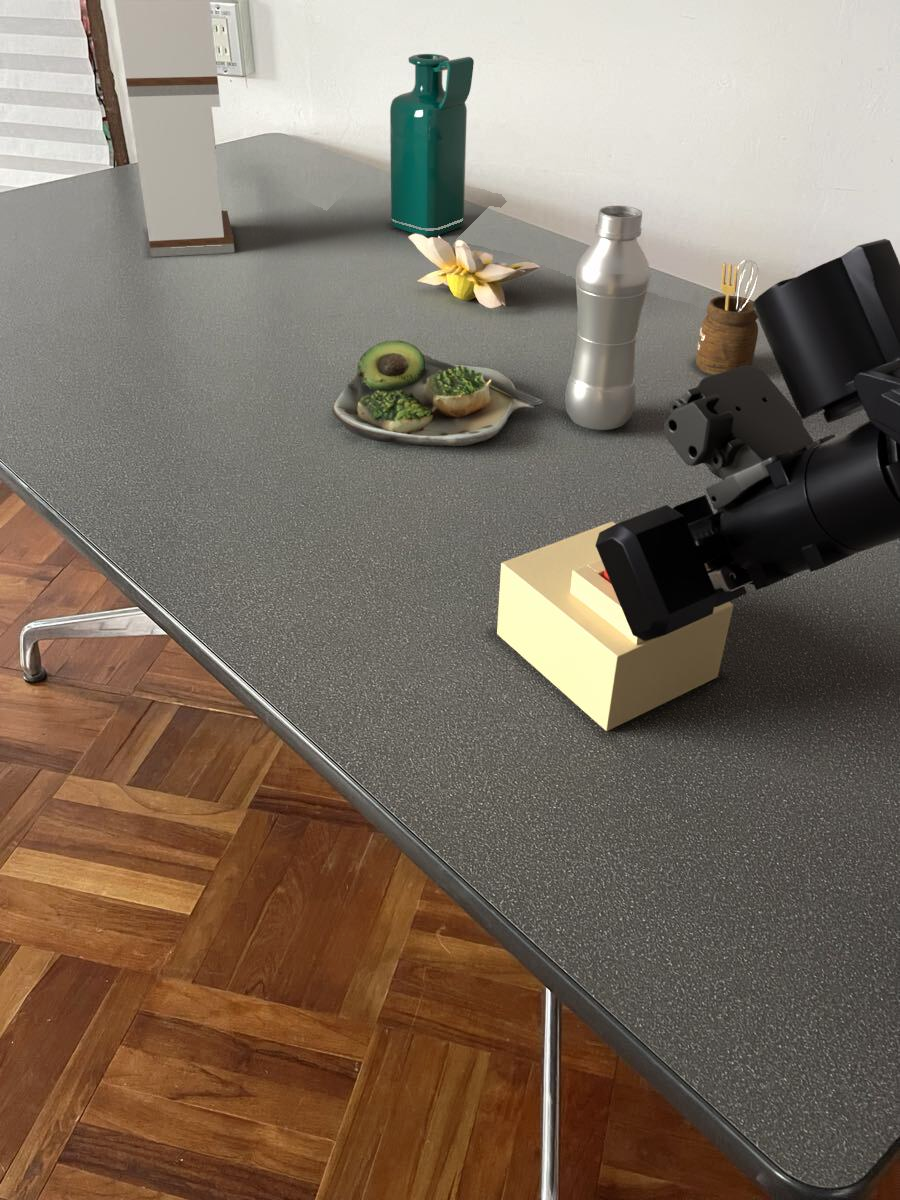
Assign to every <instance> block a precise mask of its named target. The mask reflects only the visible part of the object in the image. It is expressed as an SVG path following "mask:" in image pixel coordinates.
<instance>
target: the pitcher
mask: <svg viewBox="0 0 900 1200" xmlns="http://www.w3.org/2000/svg"><path fill="white" fill-rule="evenodd" d="M407 61H408V63H409V64H412V65H414V86H413V88H412V90H411V91H408V92H405V93H402V94H399V95H397V96H395V97H394V98H393V99H392V101H391V103H390V106H389V136H390V137H389V144H390V221H391V223H390V224H391V225H392V227H393V228H395V229H397V230H400V231H404V232H408V233H411V234H420V235H423V236H425V237H426V238H432V237H438V236H441V235H444V234H446V233H449V232H452V231H455V230H457V229H461V228H462V226H463V225H464V223H465V219H464V220H463V221H462V222H460V223H457V224H454V225H451V226H449V227H446V228H443V229H440V230H434V231H425V230H419V229H416V228H413V227H409V226H406V225H402V224H399V223H395V222H393V221H392V220H391V218H392V219H394V220H396V221H399V222H403V223H407V224H411V225H414V226H417V227H421V228H438V227H441V226H444V225H447V224H449V223H452V222H454V221H457V220H460V219H462V218H463V217H464V218H465V191H466V160H467V159H466V158H467V157H466V156H467V123H468V121H467V120H468V109H467V104H466V101H467V100H468V99H469V95H470V93H471V89H472V81H473V74H474V73H473V72H474V65H475V61H474V58H472V57H471V56H463V57H459V58H454V59H449V57H447V56H445V55H442V54H437V53H418V54H413V55H411V56H409V57H408V59H407ZM444 71H447V72H446V84H445V88H444V85H443V73H444ZM444 89H445V90H444Z"/></svg>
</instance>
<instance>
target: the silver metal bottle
mask: <svg viewBox="0 0 900 1200" xmlns="http://www.w3.org/2000/svg"><path fill="white" fill-rule="evenodd" d="M597 215H598V216H597V223H596V224H595V234H596V235H597V238H596V239H595V240H594V242H592V243H591V245H589V246H588V248H587V249H586V250H585V251H584V253H583V255H581V257H580V259H579V260H578V263H577V266H576V268H575V289H576V305H577V306H576V307H577V321H576V322H577V325H576V327H577V330H576V342H575V348H574V355H573V361H572V366H571V372H570V374H569V377H568V379H567V380H568V381H567V383H566V389H565V393H564V402H565V411H566V413H567V415H568V417H569V418H570V420H571V421H572V422H573V423H574V424H575V425H578V426H579V427H581V428H586V429H591V430H596V431H607V430H614V429H618V428H620V427H622V426H624V425H625V424H626V423H627V422H628V420H629V419H630V418H631V417H632V414H633V412H634V408H635V405H636V402H637V401H636V398H637V396H636V392H637V391H636V382H635V381H636V380H635V364H636V363H635V359H636V358H635V357H636V343H637V337H638V332H639V325H640V320H641V314H642V311H643V307H644V304H645V300H646V296H647V293H648V288H649V286H650V281H651V270H650V264H649V262H648V259H647V257H646V255H645V252H644V251H643V249H642V248H641V245H640V243H639V242H638V238H639V237H641V235H642V220H643V211H642V210H641V209H639V208H637V207H634V206H633V207H632V206H627V205H607V206H603V207H601V208H599V211H598V214H597Z"/></svg>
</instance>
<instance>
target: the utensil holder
mask: <svg viewBox="0 0 900 1200" xmlns="http://www.w3.org/2000/svg"><path fill="white" fill-rule="evenodd" d="M750 262H751V265H754V264H755V265H756V269H757V270H756V271H757V272H756V276H755V282H754V285H753V287H752V291H751V292H750V294H749V296H748V293H749V290H750V287H751V283H752V279H753V274H754V271H753V267H751V268H750V274H749V278H748V281H747V285H746V289H745V291H744V295H743V296H739V295H735V294H736V292H737V293H738V294H740V292H741V290H740V289H741V287H742V285H741V284H742V282H743V279H744V275H745V273H746V272H745V271H746V268H747V267H748V264H749V263H750ZM743 264H744V265H743ZM742 265H743V266H742ZM741 266H742V271H741V273H740V278H739V283H737V282H738V272H739V270H740V267H741ZM733 269H734V272H733V271H732V270H733ZM726 272H727V280H726ZM732 272H733V278H732ZM758 277H759V267H758V264H757V262H755V261H753V260H750V259H747V260H743V261H741V263H740V264H738V265H735V266H734V268H733V265H732V264H731V263H730V264H728V270H727V263H726V262H723V264H722V271H721V283H720V292H722V293H723V294H724V295H720V296H715V297H713V298H711V299H710V300H709V302H708V305H707V307H706V316H705V317H704V318H703V320H702V322H701V326H700V329H699V333H698V334H699V335H698V342H697V347H696V354H695V364H696V367H697V368H698V369H699V370H700V371H701V372H703V373H705V374H707V375H709V376H712V375H716V374H719V373H722V372H725V371H729V370H732V369H735V368H738V367H742V366H753V365H752V364H753V361H754V356H755V352H756V347H757V342H758V336H759V335H758V334H759V325H758V322H757V320H758V317H757V315H756V313H755V310H754V308H753V306H752V304H753V302H754V301H755V300H751V297H752V294H754V291H755V290H756V286H757V283H758ZM732 279H733V280H732ZM737 284H738V286H739V287H738V289H737ZM747 296H748V297H747Z"/></svg>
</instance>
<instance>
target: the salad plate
mask: <svg viewBox="0 0 900 1200" xmlns="http://www.w3.org/2000/svg"><path fill="white" fill-rule="evenodd" d="M543 403H544V401H543V399H542V398H539V397H537V396H534V395H532V394H529V393H526V392H524V391H521V390H519V389H516V388H515V385H514V384H513V382H512V381H511V380H510V378H508V377H507V376H505V374H504V373H503V374H502V372H500V371H498V370H496V369H492V368H488V367H480V366H470V365H462V364H460V365H459V364H452V363H447V362H443V361H440V360H438V359H435V358H432V357H431V356H429V355H427V354H423V353H422V351H421V350H420V349H419V348H418V347H417V346H415V345H414V344H413V343H410V342H407V341H404V340H397V339H396V340H385V341H383V342H380V343H377V344H375V345H373V346H372V347H370V348H368V350H366V352H364V353H363V355H361V357H360V359H359V360H358V362H357V371H356V373H355V374H354V375H353V377H352V378H351V379H350V381H349V382H348V383H347V385H346V386H345V388H344V389H343V390H342V391H341V393H340V395H339V396H338V397H337V398H336V400H335V403H334V404H333V405H332V409H331V412H332V415H333V416H334V417H335V419H336V420H337V421H338V422H339V423H340V424H341V425H342V426H343V427H344V428H345V429H346V430H347V431H349V432H350V433H351V434H354V435H356V436H359V437H362V438H366V439H368V440H369V439H370V440H374V441H380V442H390V443H391V442H393V443H396V444H401V445H417V446H450V447H465V446H466V447H467V446H470V445H474V444H477V443H481V442H484V441H487V440H489V439H491V438H493V437H495V436H496V435H497V434H499V432H500V431H501V430H502V429H503V428H504V426H505V425H506V423H507V421H508V418H509V417H510V416H511V414H512V413H513V412H514V411H516V410H518V409H521V408H537V407H541V406H542V405H543Z"/></svg>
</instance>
